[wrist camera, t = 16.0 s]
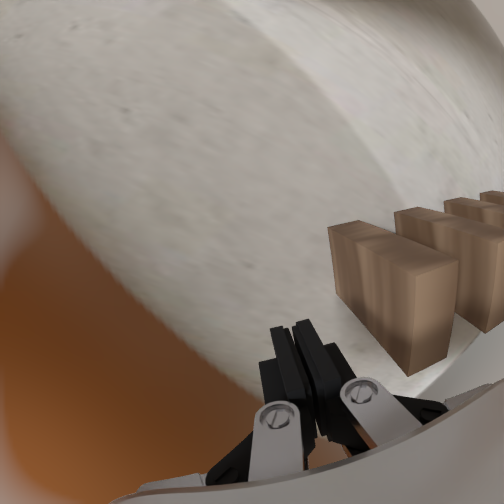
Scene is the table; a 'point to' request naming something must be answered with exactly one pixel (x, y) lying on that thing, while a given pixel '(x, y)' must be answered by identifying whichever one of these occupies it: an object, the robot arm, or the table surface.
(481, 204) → the domino
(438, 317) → the domino
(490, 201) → the domino
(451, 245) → the domino
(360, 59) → the table surface
